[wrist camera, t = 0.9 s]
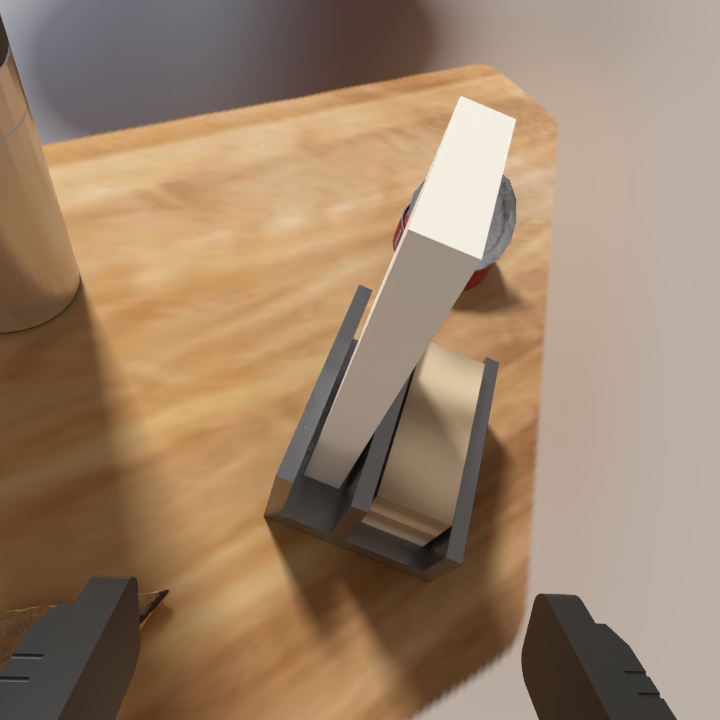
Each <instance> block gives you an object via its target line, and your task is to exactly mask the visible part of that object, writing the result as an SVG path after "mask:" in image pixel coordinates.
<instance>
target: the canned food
mask: <svg viewBox="0 0 720 720" xmlns="http://www.w3.org/2000/svg"><path fill="white" fill-rule="evenodd" d="M425 180H426V179H425ZM425 180H424V181H423V183H422V184H421V185H420V186H419V187H418V189H417V190H416V191H415V192H414V194H413V198H412V201H411V203H410V204H409V205H408V206H407V207H406V208H405V210H404V212H403V214H402V217H401V220H400V222H399V225H398V227H397V230H396V232H395V234H394V239H393V248H394V252H395V251H396V249H397V247H398V244H399V242H400V239H401V237H402V235H403V232H404V230H405V227H406V225H407V223H408V220H409V218H410V215H411V213H412V211H413V208H414V206H415V203H416V201H417V199H418V196H419V194H420V192H421V189H422V187H423V184H424V182H425ZM515 224H516V198H515V195H514V192H513V189H512V186H511V183H510V180H509V179H508V178H507V177H505V176H504V175H502V179H501V183H500V187H499V191H498V195H497V199H496V203H495V207H494V212H493V216H492V220H491V224H490V228H489V232H488V236H487V240H486V244H485V248H484V252H483V257H482V260H481V262H480V263H479V265H478V267H477V268H476V270H475V271H474V273H473V275H472V276H471V278H470V279H469V281H468V283H467V284H466V286H465V287H464V289H463V291H464V290H468V289H470V288H473V287H475V286H476V285H477V284H479V283H480V282H481V281H482V279H483V278H484V276H485V275H486V273H487V272H488V270H489V269H490V267H491V266H492V264H493V263H494V261H496V260H498V259H499V258H500V256H501V255H502V253H503V252H504V250H505V249H506V248H507V246H508V245H509V244H510V242H511V238H512V234H513V230H514V227H515Z"/></svg>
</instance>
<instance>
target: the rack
mask: <svg viewBox="0 0 720 720" xmlns="http://www.w3.org/2000/svg"><path fill="white" fill-rule="evenodd" d="M371 293H372V290H371V289H368V288H366V287H364V286H361V285H359V287H358V289H357V291H356V294H355V296H354V298H353V300H352V303H351V305H350V307H349V310H348V312H347V314H346V316H345V319H344V321H343V323H342V326H341V328H340V330H339V332H338V335H337V337H336V339H335V342H334V344H333V346H332V348H331V351H330V353H329V355H328V358H327V360H326V362H325V364H324V367H323V369H322V371H321V374H320V376H319V378H318V380H317V383H316V385H315V387H314V390H313V392H312V394H311V397H310V399H309V401H308V403H307V406H306V408H305V410H304V413H303V415H302V417H301V419H300V422H299V424H298V426H297V429H296V431H295V433H294V435H293V438H292V440H291V442H290V445H289V447H288V449H287V451H286V454H285V456H284V458H283V461H282V463H281V465H280V467H279V470H278V472H277V474H276V477H275V480H274V484H273V487H272V490H271V494H270V497H269V500H268V504H267V507H266V510H265V513H264V516H265V517H267V518H270V519H272V520H275V521H277V522H280V523H282V524H285V525H287V526H290V527H292V528H295V529H297V530H300V531H302V532H305V533H308V534H310V535H313V536H315V537H318V538H320V539H323V540H325V541H328V542H330V543H333V544H335V545H338V546H340V547H343V548H345V549H348V550H350V551H353V552H355V553H358V554H360V555H363V556H365V557H368V558H370V559H373V560H375V561H378V562H380V563H383V564H385V565H388V566H391V567H393V568H396V569H398V570H401V571H403V572H406V573H408V574H411V575H413V576H416V577H418V578H421V579H423V580H426V581H428V582H429V581H431V580H433V579H435V578H437V577H439V576H441V575H443V574H445V573H446V572H448V571H450V570H452V569H454V568H456V567H458V566H460V565H462V563H463V558H464V552H465V547H466V541H467V536H468V530H469V525H470V519H471V514H472V508H473V503H474V497H475V492H476V486H477V481H478V475H479V470H480V464H481V459H482V453H483V448H484V442H485V437H486V431H487V426H488V420H489V415H490V409H491V404H492V398H493V393H494V387H495V382H496V376H497V371H498V365H499V362H497V361H494V360H492V359H489V358H487V357H486V359H485V360H484V361H483V362H482V363H484V364H485V366H484V371H483V376H482V381H481V386H480V391H479V396H478V401H477V405H476V410H475V415H474V420H473V425H472V430H471V435H470V440H469V445H468V450H467V455H466V460H465V465H464V470H463V475H462V480H461V485H460V490H459V494H458V499H457V504H456V509H455V514H454V519H453V524H452V526H451V527H450V528H448V529H447V530H445V531H444V532H442V533H441V534H440V535H438V536H437V537H435V538H434V539H433V540H431V541H430V542H428V543H427V544H425V545H424V546H420V545H418V544H415V543H413V542H410V541H408V540H405V539H403V538H400V537H398V536H395V535H393V534H390V533H388V532H385V531H383V530H380V529H378V528H375V527H373V526H370V525H368V524H365V523H363V522H361V521H362V520H363V518H364V517H365V516H366V515H367V514H368V512H369V509H370V506H371V503H372V499H373V496H374V493H375V490H376V486H377V483H378V480H379V476H380V473H381V470H382V467H383V463H384V460H385V457H386V454H387V450H388V447H389V444H390V441H391V437H392V434H393V431H394V427H395V424H396V421H397V418H398V414H399V411H400V408H401V405H402V401H403V398H404V395H405V392H406V388H407V385H408V382H409V378H410V376H409V377H408V379H407V380H406V382H405V384H404V385H403V387H402V389H401V390H400V392H399V393H398V395H397V397H396V398H395V400H394V401H393V403H392V405H391V406H390V408H389V409H388V411H387V413H386V414H385V416H384V417H383V419H382V421H381V422H380V424H379V425H378V427H377V429H376V430H375V432H374V433H373V435H372V437H371V438H370V440H369V441H368V443H367V445H366V446H365V448H364V449H363V451H362V453H361V454H360V456H359V458H358V459H357V461H356V462H355V464H354V466H353V467H352V469H351V470H350V472H349V474H348V475H347V477H346V478H345V480H344V482H343V483H342V485H341V486H340V488H339V489H338V488H335V487H333V486H330V485H328V484H325V483H323V482H320V481H318V480H315V479H313V478H310V477H308V476H305V475H304V473H305V470H306V468H307V465H308V463H309V460H310V458H311V456H312V453H313V451H314V448H315V446H316V443H317V441H318V438H319V436H320V433H321V431H322V428H323V426H324V423H325V421H326V418H327V416H328V413H329V411H330V408H331V406H332V403H333V401H334V398H335V396H336V393H337V391H338V388H339V386H340V383H341V381H342V378H343V376H344V373H345V371H346V369H347V366H348V364H349V361H350V359H351V357H352V354H353V352H354V349H355V347H356V345H357V342H358V340H355V339H353V338H354V335H355V333H356V330H357V328H358V325H359V323H360V320H361V318H362V315H363V313H364V310H365V308H366V305H367V303H368V300H369V298H370V295H371ZM410 375H411V374H410Z"/></svg>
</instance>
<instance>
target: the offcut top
mask: <svg viewBox="0 0 720 720" xmlns="http://www.w3.org/2000/svg"><path fill="white" fill-rule="evenodd" d="M484 366H485V364H484V363H481V362H479V361H476V360H474V359H471V358H469V357H467V356H464V355H462V354H459V353H457V352H454V351H452V350H449V349H447V348H445V347H442V346H440V345H437V344H435V343H432V342H430V344H429V345H428V347H427V348H426V350H425V352H424V353H423V355H422V356H421V358H420V360H419V361H418V363H417V364H416V366H415V368H414V369H413V371H412V372H411V375H410V378H409V382H408V385H407V388H406V392H405V395H404V398H403V401H402V405H401V408H400V411H399V414H398V418H397V421H396V424H395V427H394V431H393V434H392V437H391V441H390V444H389V447H388V450H387V454H386V457H385V460H384V463H383V467H382V470H381V473H380V476H379V480H378V483H377V486H376V490H375V493H374V496H373V499H372V503H371V506H370V509H369V510H371V511H373V512H376V513H378V514H381V515H383V516H386V517H388V518H391V519H393V520H396V521H398V522H401V523H403V524H406V525H408V526H411V527H413V528H416V529H418V530H421V531H423V532H426V533H428V534H431V535H433V536H436V537H437V536H438V535H440V534H441V533H442V532H444V531H445V530H447V529H448V528H450V527H451V526H452V524H453V519H454V514H455V509H456V504H457V499H458V494H459V490H460V485H461V480H462V475H463V470H464V465H465V460H466V455H467V450H468V445H469V440H470V435H471V430H472V425H473V420H474V415H475V410H476V405H477V401H478V396H479V391H480V386H481V381H482V376H483V371H484Z"/></svg>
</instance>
